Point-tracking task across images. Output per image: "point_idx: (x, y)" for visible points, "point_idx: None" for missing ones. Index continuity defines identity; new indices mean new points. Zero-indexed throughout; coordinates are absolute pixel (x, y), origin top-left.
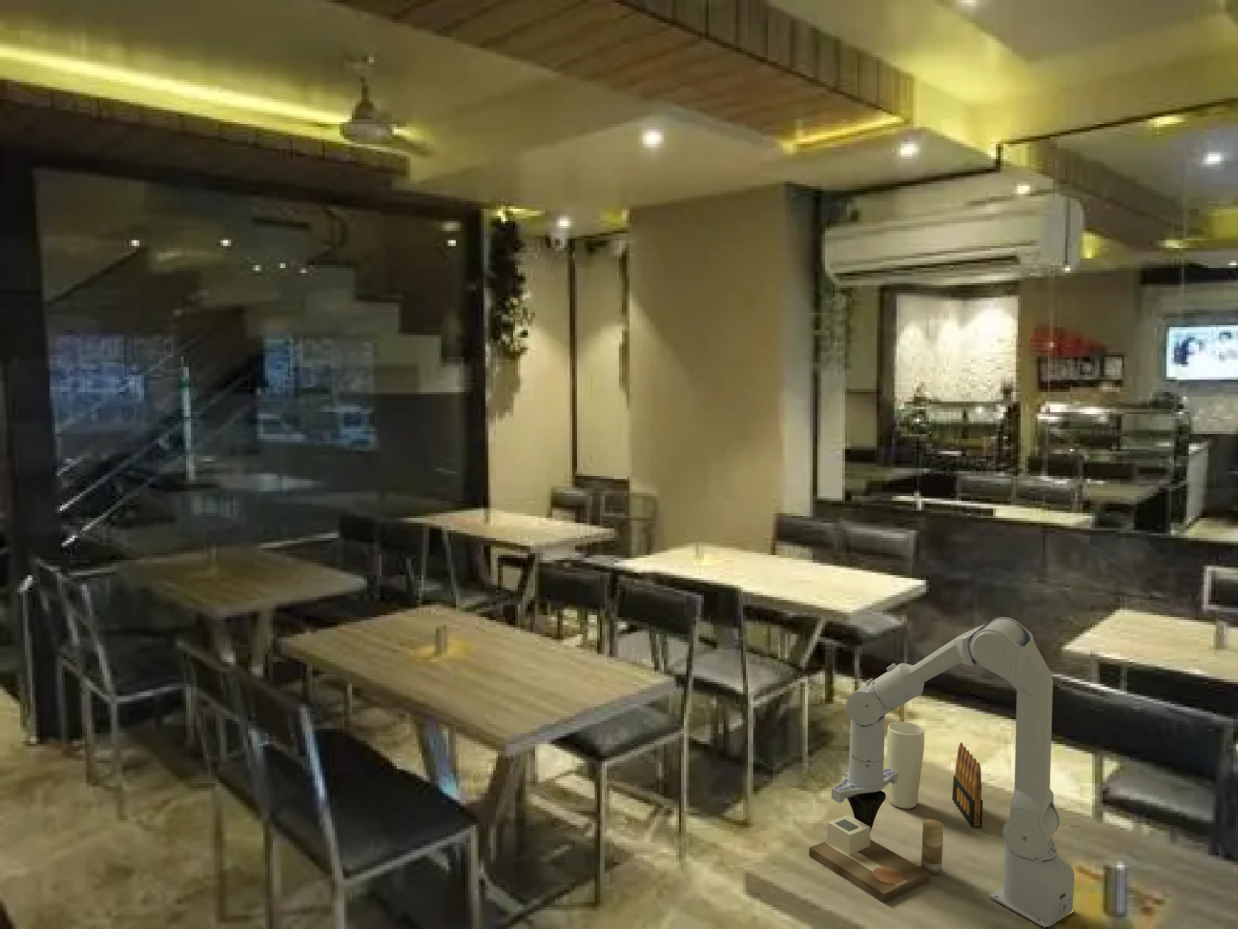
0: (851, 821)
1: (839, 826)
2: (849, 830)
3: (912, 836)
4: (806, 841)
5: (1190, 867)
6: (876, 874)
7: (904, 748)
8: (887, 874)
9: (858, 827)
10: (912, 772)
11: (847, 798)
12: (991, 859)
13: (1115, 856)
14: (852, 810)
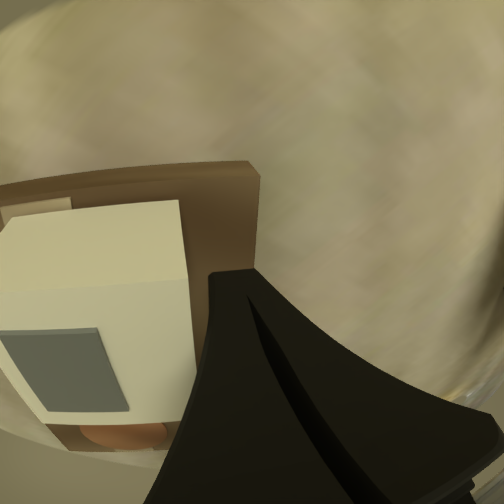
0: (132, 360)
1: (15, 364)
2: (56, 409)
3: (422, 263)
4: (2, 70)
5: (478, 401)
6: (90, 425)
7: None
8: (122, 432)
9: (129, 409)
10: None
11: (157, 483)
12: (412, 380)
13: (479, 385)
14: (199, 367)
